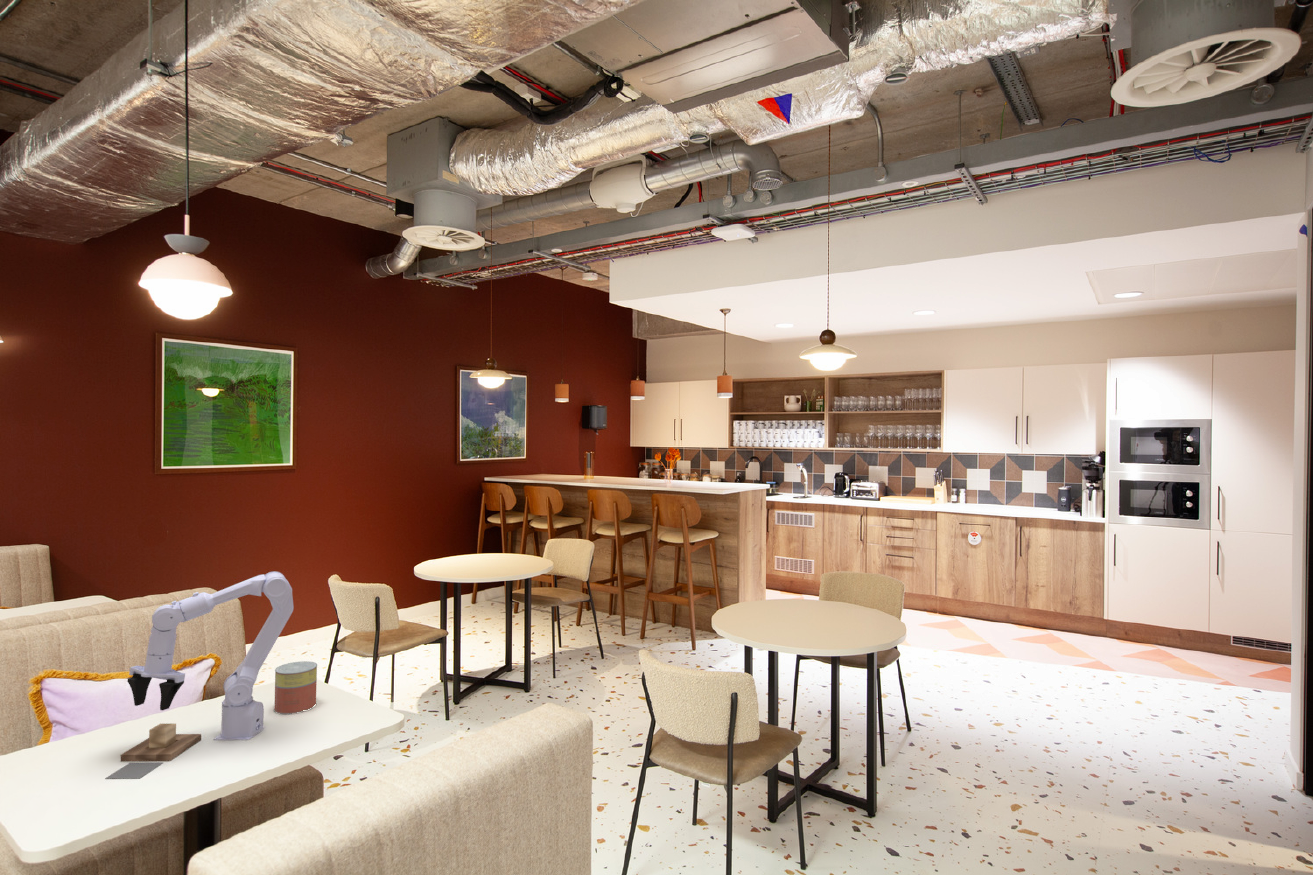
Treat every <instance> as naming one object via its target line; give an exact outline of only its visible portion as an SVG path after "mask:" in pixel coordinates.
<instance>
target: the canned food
mask: <svg viewBox="0 0 1313 875" xmlns="http://www.w3.org/2000/svg"><path fill="white" fill-rule="evenodd" d="M317 670H318V664H317V663H316V662H314V661H308V660H307V661H304V660H301V661H295V662H288V663H284V664H282V665H279V666H277V667H275V669H274V671H275V673H274V675H275V676H274V680H275V681H274V708H273V711H274V710H275V711H274V712H275V713H276V712H277V713H276V714H278V713H280V714H279V715H293V714H292V713H296V714H298V713H297V712H301V711H303V710H308V709H310V708H312V707H313V706H314V705H315V704H316V705H317V679H318V678H317V675H318V673H317V672H318V671H317ZM312 709H313V708H312ZM310 710H311V709H310ZM308 711H309V710H308ZM301 713H302V712H301Z"/></svg>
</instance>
